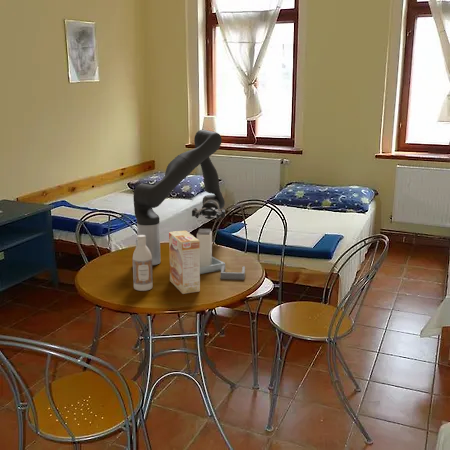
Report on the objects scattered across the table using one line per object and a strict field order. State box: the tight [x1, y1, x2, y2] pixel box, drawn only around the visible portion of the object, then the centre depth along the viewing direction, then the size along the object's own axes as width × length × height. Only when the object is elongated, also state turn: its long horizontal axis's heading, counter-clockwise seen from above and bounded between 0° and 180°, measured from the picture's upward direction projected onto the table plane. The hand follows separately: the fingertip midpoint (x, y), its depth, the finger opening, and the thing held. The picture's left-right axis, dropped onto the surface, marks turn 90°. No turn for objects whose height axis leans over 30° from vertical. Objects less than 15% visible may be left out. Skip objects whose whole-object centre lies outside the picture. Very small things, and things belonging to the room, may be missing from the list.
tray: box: [200, 256, 226, 275], centre depth 224 cm, size 14×14×3 cm
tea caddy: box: [196, 228, 213, 267], centre depth 223 cm, size 6×6×15 cm
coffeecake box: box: [168, 230, 201, 295], centre depth 201 cm, size 15×7×20 cm, turn 23°
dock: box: [220, 265, 246, 281], centre depth 215 cm, size 8×9×2 cm
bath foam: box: [132, 235, 154, 292], centre depth 199 cm, size 7×7×20 cm
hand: (207, 216), depth 231 cm, fingers open, 8 cm apart
